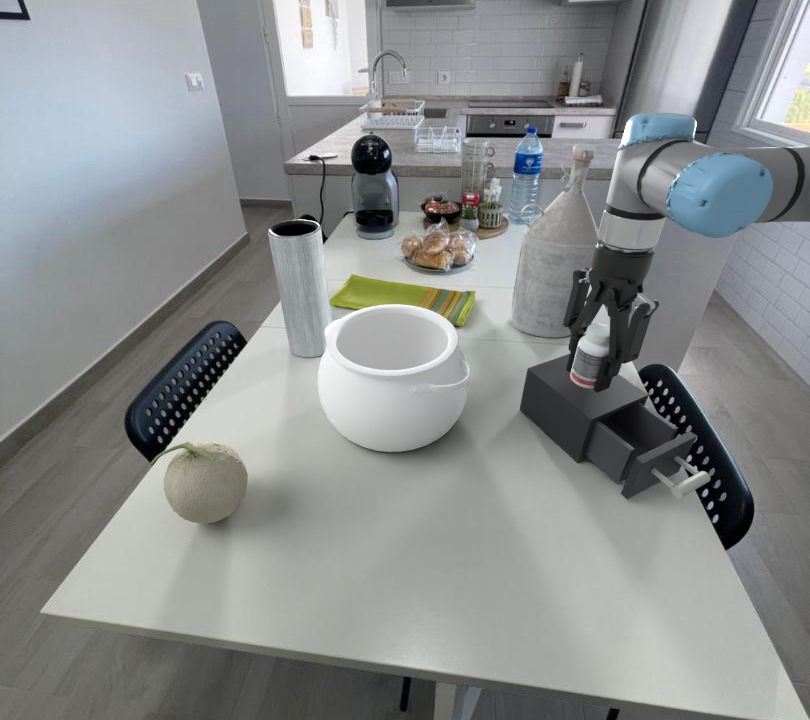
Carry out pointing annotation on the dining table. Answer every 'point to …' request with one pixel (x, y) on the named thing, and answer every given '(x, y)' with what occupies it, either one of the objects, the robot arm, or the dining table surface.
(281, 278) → the vase
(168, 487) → the fruit
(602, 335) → the pill bottle
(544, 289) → the grey jug
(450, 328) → the pot
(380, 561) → the dining table surface
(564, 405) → the grey drawer box
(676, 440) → the pulled-out drawer
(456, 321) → the dish towel
